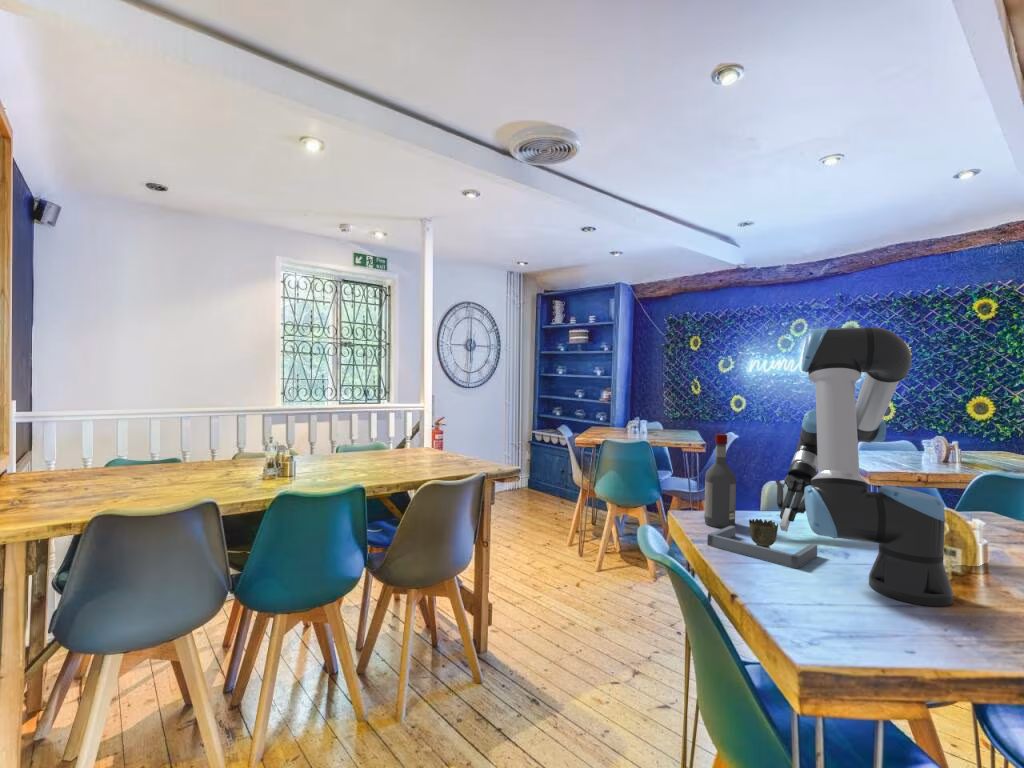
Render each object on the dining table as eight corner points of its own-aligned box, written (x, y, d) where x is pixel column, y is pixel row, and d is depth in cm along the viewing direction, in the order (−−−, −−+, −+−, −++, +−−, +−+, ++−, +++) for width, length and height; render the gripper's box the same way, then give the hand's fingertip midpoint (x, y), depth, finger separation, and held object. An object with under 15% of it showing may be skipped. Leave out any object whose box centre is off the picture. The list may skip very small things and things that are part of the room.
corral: (817, 556, 139) (817, 545, 139) (797, 568, 129) (797, 557, 129) (730, 535, 157) (730, 525, 157) (707, 544, 147) (707, 534, 147)
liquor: (705, 526, 166) (707, 435, 166) (704, 519, 175) (706, 432, 174) (735, 529, 163) (737, 436, 163) (732, 522, 172) (734, 434, 171)
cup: (782, 555, 139) (783, 526, 139) (754, 553, 140) (755, 525, 140) (770, 546, 147) (771, 518, 146) (744, 545, 147) (745, 517, 147)
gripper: (828, 478, 162) (809, 540, 151) (785, 472, 172) (764, 530, 161) (823, 463, 158) (803, 526, 147) (779, 458, 168) (757, 516, 157)
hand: (783, 528), depth 154 cm, fingers closed
